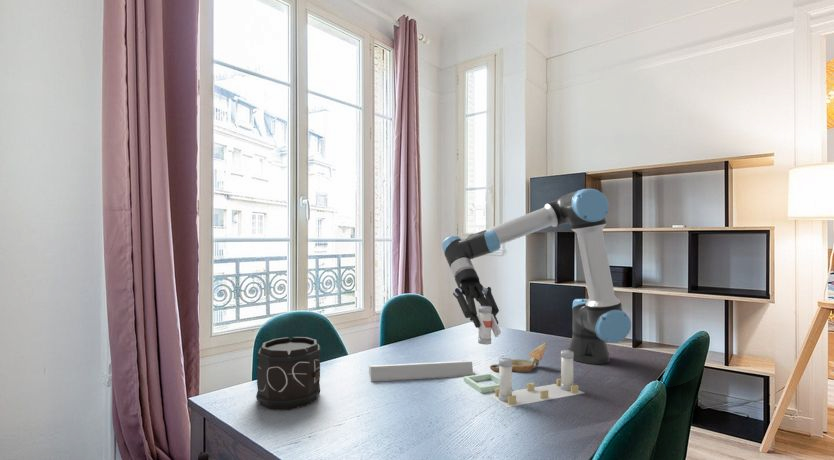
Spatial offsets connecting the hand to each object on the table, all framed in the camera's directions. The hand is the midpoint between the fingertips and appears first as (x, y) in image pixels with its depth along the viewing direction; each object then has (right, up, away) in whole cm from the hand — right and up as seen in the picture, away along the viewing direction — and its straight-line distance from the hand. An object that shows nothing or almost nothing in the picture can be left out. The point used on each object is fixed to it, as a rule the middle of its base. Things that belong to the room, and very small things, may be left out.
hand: (491, 335), depth 120 cm
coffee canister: (-58, -17, -5) cm, 61 cm away
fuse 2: (+23, -16, +1) cm, 28 cm away
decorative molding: (-21, -18, +18) cm, 33 cm away
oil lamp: (+13, -18, +19) cm, 30 cm away
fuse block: (+12, -18, -4) cm, 22 cm away
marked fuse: (-2, -3, +3) cm, 5 cm away
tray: (-1, -18, +3) cm, 18 cm away
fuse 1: (+2, -16, -8) cm, 18 cm away
